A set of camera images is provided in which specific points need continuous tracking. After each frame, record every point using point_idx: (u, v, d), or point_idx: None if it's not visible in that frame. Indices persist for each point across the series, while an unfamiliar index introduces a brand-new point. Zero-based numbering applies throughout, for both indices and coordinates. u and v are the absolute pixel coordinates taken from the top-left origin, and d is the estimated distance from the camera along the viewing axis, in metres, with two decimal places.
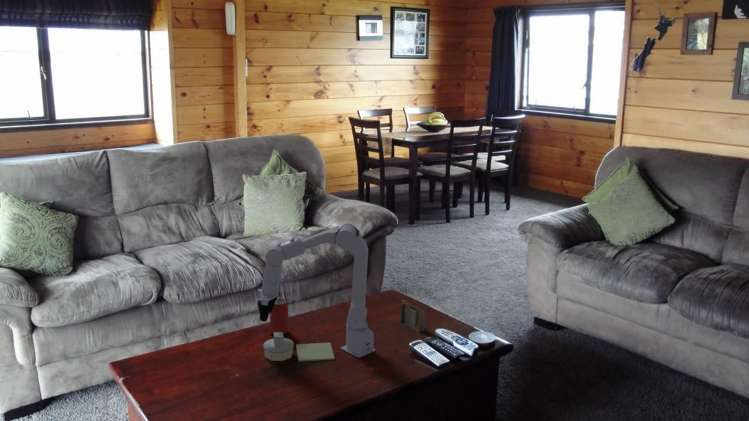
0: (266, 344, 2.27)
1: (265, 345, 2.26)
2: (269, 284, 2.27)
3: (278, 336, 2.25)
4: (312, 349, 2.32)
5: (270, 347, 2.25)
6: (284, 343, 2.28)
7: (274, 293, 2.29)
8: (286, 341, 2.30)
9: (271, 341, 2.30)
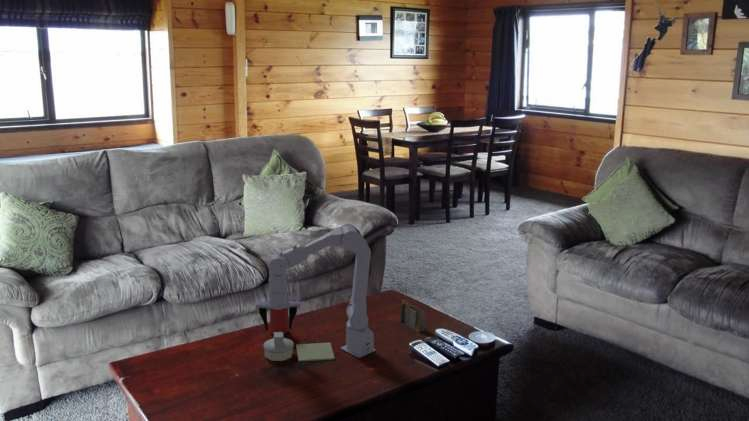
0: (266, 344, 2.27)
1: (265, 345, 2.26)
2: (286, 292, 2.24)
3: (278, 336, 2.25)
4: (312, 349, 2.32)
5: (270, 347, 2.25)
6: (284, 343, 2.28)
7: None
8: (286, 341, 2.30)
9: (271, 341, 2.30)
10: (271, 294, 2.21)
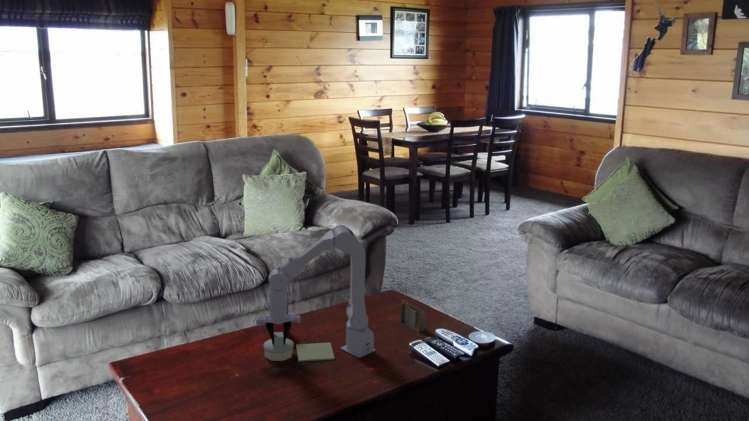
0: (266, 344, 2.27)
1: (265, 345, 2.26)
2: (286, 306, 2.25)
3: (278, 336, 2.25)
4: (312, 349, 2.32)
5: (270, 347, 2.25)
6: None
7: None
8: (286, 341, 2.30)
9: (271, 341, 2.30)
10: (271, 309, 2.22)
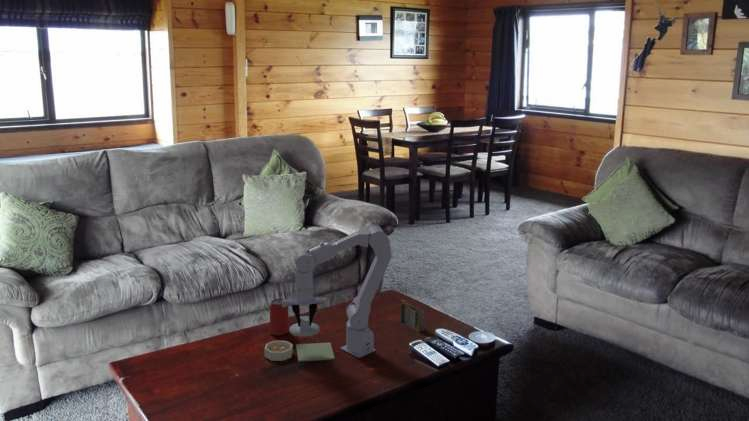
0: (291, 328, 2.28)
1: (291, 329, 2.27)
2: (312, 288, 2.25)
3: (304, 320, 2.26)
4: (312, 349, 2.32)
5: (296, 331, 2.26)
6: (310, 327, 2.29)
7: None
8: (311, 325, 2.30)
9: (297, 325, 2.30)
10: (298, 291, 2.22)
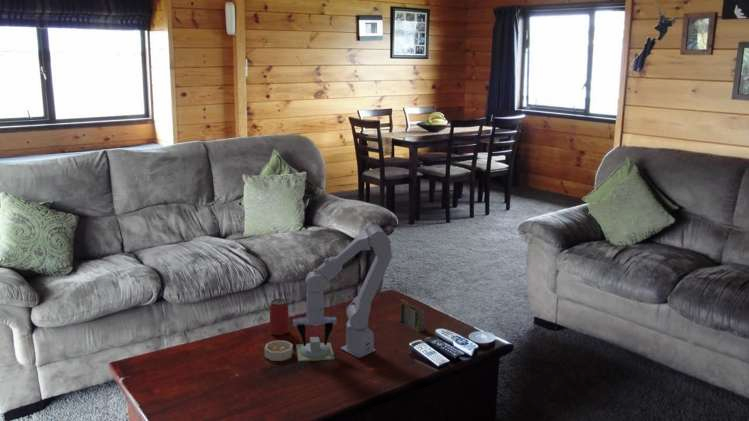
0: (302, 348, 2.30)
1: (302, 350, 2.29)
2: None
3: (315, 341, 2.28)
4: None
5: (307, 351, 2.28)
6: (320, 348, 2.31)
7: None
8: (321, 345, 2.33)
9: (307, 345, 2.33)
10: (309, 311, 2.25)
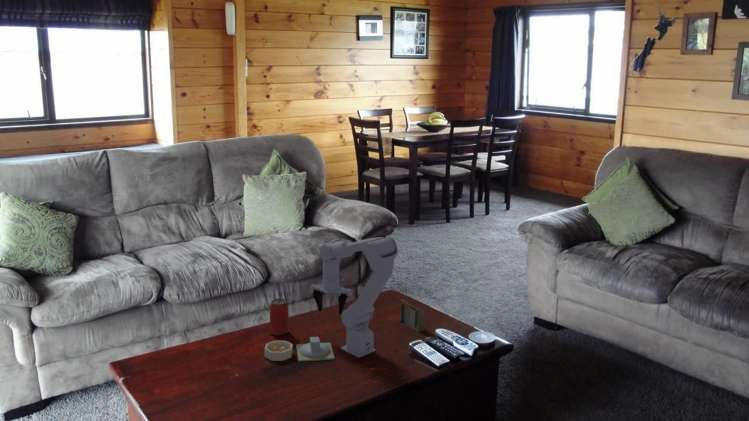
0: (302, 348, 2.30)
1: (302, 350, 2.29)
2: (338, 278, 2.37)
3: (315, 341, 2.28)
4: None
5: (307, 351, 2.28)
6: (320, 348, 2.31)
7: None
8: (321, 345, 2.33)
9: (307, 345, 2.33)
10: (323, 278, 2.36)
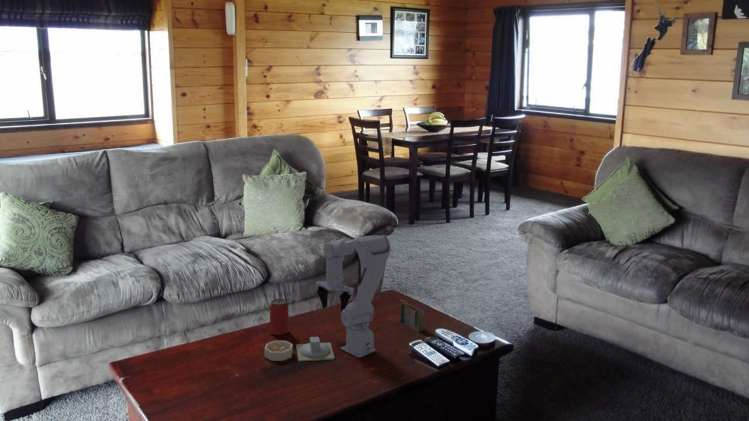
0: (302, 348, 2.30)
1: (302, 350, 2.29)
2: (341, 276, 2.39)
3: (315, 341, 2.28)
4: None
5: (307, 351, 2.28)
6: (320, 348, 2.31)
7: None
8: (321, 345, 2.33)
9: (307, 345, 2.33)
10: (326, 275, 2.40)
